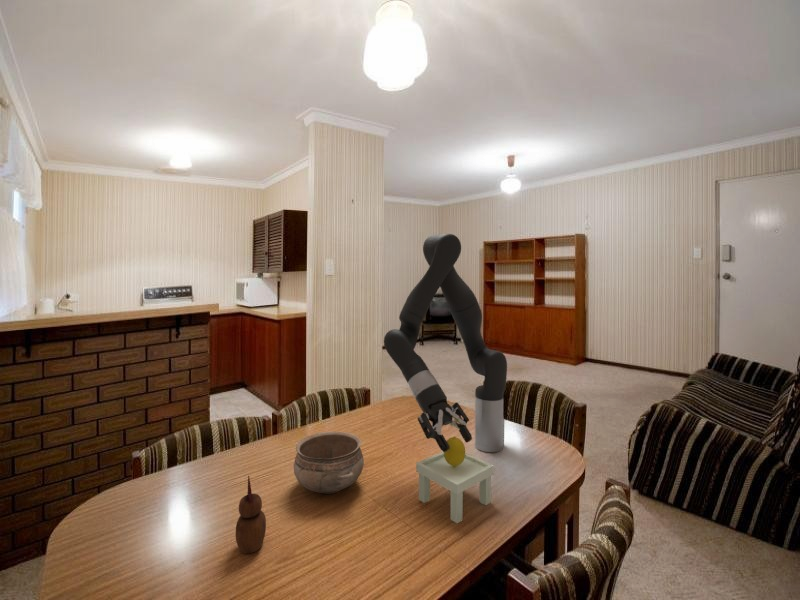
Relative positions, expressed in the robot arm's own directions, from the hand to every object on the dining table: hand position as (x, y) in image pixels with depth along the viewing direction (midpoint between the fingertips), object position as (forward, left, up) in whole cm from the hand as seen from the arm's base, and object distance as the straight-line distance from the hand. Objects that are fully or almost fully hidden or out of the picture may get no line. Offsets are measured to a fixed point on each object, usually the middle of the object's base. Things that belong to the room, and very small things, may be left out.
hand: (458, 445), depth 100 cm
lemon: (0, -1, -6) cm, 7 cm away
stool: (0, -1, -15) cm, 15 cm away
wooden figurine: (+46, -18, -15) cm, 52 cm away
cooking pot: (+21, -28, -15) cm, 38 cm away
